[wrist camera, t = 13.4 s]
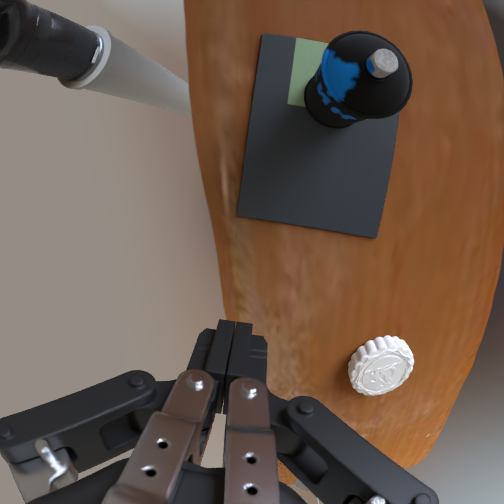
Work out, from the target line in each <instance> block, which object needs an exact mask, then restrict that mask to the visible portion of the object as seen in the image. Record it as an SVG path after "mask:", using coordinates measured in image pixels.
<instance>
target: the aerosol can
mask: <svg viewBox="0 0 504 504" xmlns="http://www.w3.org/2000/svg"><path fill="white" fill-rule="evenodd" d="M412 85H413V80H412V73H411V70H410V66H409V64H408V62H407V60H406V58H405V57H404V55H403V54H402V52H401V51H400V50H399V49H398V48H397V47H396V46H395V45H394V44H393V43H392V42H390V41H389V40H387V39H386V38H384V37H382V36H380V35H378V34H375V33H372V32H368V31H350V32H347V33H343V34H341V35H339V36H337V37H336V38H334V39H333V40H332V41H331V42H330V43H329V44H328V46H327V47H326V49H325V51H324V53H323V56H322V62H321V64H320V66H319V68H318V69H317V71H316V73H315V75H314V76H313V77H312V78H311V79H310V80H309V81H308V83H307V85H306V87H305V90H304V103H305V106H306V109H307V110H308V112H309V114H310V115H311V116H312V118H313V119H315V120H316V121H317V122H318V123H320V124H321V125H324V126H326V127H329V128H337V129H340V128H346V127H348V126H351V125H352V124H354V123H356V122H360V121H363V120H367V119H382V118H387V117H390V116H392V115H394V114H396V113H397V112H399V111H400V110H401V109H402V108H403V107H404V106H405V105H406V103H407V102H408V100H409V98H410V95H411V92H412Z"/></svg>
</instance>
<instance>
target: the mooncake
mask: <svg viewBox="0 0 504 504" xmlns="http://www.w3.org/2000/svg"><path fill="white" fill-rule="evenodd" d="M413 364H414V360H413V354H412V352H411V350H410V348H409V347H408V345H406V343H405V341H404V340H400V339H399V338H398V337H396V336H394V337H391V336H388V335H387V336H384V337H383V338H382V337H376V338H375V339H374V340H373V341H372V340H370V341H367V342H366V343H365V344H364V346H360V347H359V348H358V349H357V352H356V353H354V354H353V355H352V356H351V360H350V361H349V363H348V367H349V368H348V375H349V378H350V382H351V384H352V387H353V388H354V389H356V390H357V392H358V393H363V394H364V395H373V396H376V395H378V394H379V395H380V394H385V393H387V392H388V391H392V390H394V389H395V388H396V387H398V386H400V385H401V384H402V383H403V381H405V380H406V379H407V378H408V377H409V373H411V371H412V369H413V367H412V366H413Z"/></svg>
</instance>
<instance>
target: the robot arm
mask: <svg viewBox="0 0 504 504" xmlns="http://www.w3.org/2000/svg"><path fill="white" fill-rule="evenodd" d="M103 52H104V42H103V39H102V37H101V36H100V35H99V34H98V33H96V32H94V31H91V30H89V29H87V28H85V27H83V26H81V25H79V24H77V23H75V22H72V21H70V20H68V19H66V18H64V17H62V16H59V15H57V14H55V13H53V12H50V11H48V10H46V9H43V8H41V7H38V6H36V5H34V4H31V3H29V2H27V0H0V68H4V69H11V70H19V71H25V72H31V73H37V74H42V75H47V76H52V77H57V78H61V79H65V80H68V81H74V82H75V81H80V80H83V79H85V78H86V77H88V76H89V75H90V74H91V73H92V72H93V71H94V70H95V69H96V68H97V66H98V65H99V63H100V61H101V59H102V56H103ZM252 326H253V324H250V323H243V322H237V323H236V328H235V321H228V320H221V319H220V320H219V323H218V326H217V329H216V330H214V329H208V328H206V329H205V330H204V331H203V332H201V333H200V334H199V336H198V339H197V343H196V345H195V348H194V351H193V353H192V356H191V359H190V361H189V364H188V367H187V370H186V371H184V372H182V373H181V374H180V375H179V376H178V378H177V379H176V380H172V381H155V379H154V377H153V376H152V375H151V374H149V373H148V372H145V371H141V370H133V371H129V372H126V373H124V374H122V375H119V376H117V377H114V378H112V379H109V380H107V381H104V382H102V383H99V384H96V385H94V386H91V387H89V388H86V389H84V390H81V391H79V392H76V393H73V394H70V395H68V396H65V397H62V398H59V399H57V400H54V401H51V402H48V403H45V404H43V405H40V406H37V407H34V408H31V409H28V410H25V411H22V412H19V413H16V414H13V415H10V416H7V417H3V418H1V419H0V453H1V455H2V457H3V458H4V459H5V461H6V462H7V463H8V464H9V467H10V469H11V472H12V474H13V477H14V479H15V482H16V484H17V486H18V489H19V491H20V493H21V495H22V497H23V500H24V501H25V504H307V503H306V502H305V501H304V500H303V499H302V498H301V497H300V496H299V495H298V494H297V493H296V492H295V491H294V490H293V489H292V488H290V487H289V486H287V485H286V484H284V483H282V482H280V481H279V478H278V466H277V458H278V459H279V460H280V461H281V462H282V463H283V464H284V465H285V466H286V467H287V468H288V469H289V470H290V471H291V472H292V473H293V474H294V475H295V476H296V477H297V478H298V479H299V480H300V481H301V482H302V483H303V484H304V485H305V486H306V487H307V488H308V489H309V490H310V491H311V492H312V493H313V494H314V495H315V496H316V497H317V498H318V499H319V500H321V501H322V502H323V503H324V504H439V500H438V497H437V494H436V493H435V492H434V491H433V490H432V489H431V488H429V487H428V486H426V485H425V484H424V483H422V482H421V481H419V480H418V479H417V478H415V477H414V476H413V475H411V474H410V473H408V472H407V471H406V470H404V469H403V468H402V467H400V466H399V465H398V464H396V463H395V462H394V461H392V460H391V459H390V458H388V457H387V456H386V455H384V454H383V453H382V452H381V451H379V450H378V449H377V448H375V447H374V446H373V445H372V444H370V443H369V442H368V441H367V440H365V439H364V438H363V437H362V436H360V435H359V434H358V433H357V432H355V431H354V430H353V429H352V428H350V427H349V426H348V425H347V424H345V423H344V422H343V421H342V420H341V419H339V418H338V417H337V416H336V415H335V414H333V413H332V412H331V411H330V410H329V409H328V408H326V407H325V406H324V405H323V404H322V403H320V402H319V401H318V400H316V399H315V398H312V397H309V396H298V397H295V398H293V399H291V400H290V401H287V400H284V399H281V398H279V397H277V396H275V395H274V394H272V393H271V392H270V391H269V389H268V388H267V385H266V371H267V342H266V340H265V339H264V337H263V336H257V335H252ZM234 332H235V333H234ZM223 400H224V406H223ZM222 406H223V414H226V415H227V416H226V425H225V436H224V453H223V468H204V467H201V466H200V465H201V461H202V457H203V454H204V451H205V448H206V445H207V442H208V438H209V435H210V432H211V429H212V424H213V421H214V417H215V413H220V414H221V411H222ZM133 448H134V450H133V452H132V454H131V456H130V458H126V459H122V460H119V461H117V462H115V463H113V464H111V465H109V466H107V467H105V468H103V469H101V470H99V471H97V472H95V473H93V474H91V475H89V476H87V477H84V478H82V479H80V480H78V481H77V479H78V473H80V472H83V471H85V470H88V469H90V468H92V467H94V466H97V465H99V464H101V463H103V462H106V461H107V460H109V459H112V458H114V457H116V456H118V455H120V454H122V453H125V452H127V451H129V450H131V449H133Z"/></svg>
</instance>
